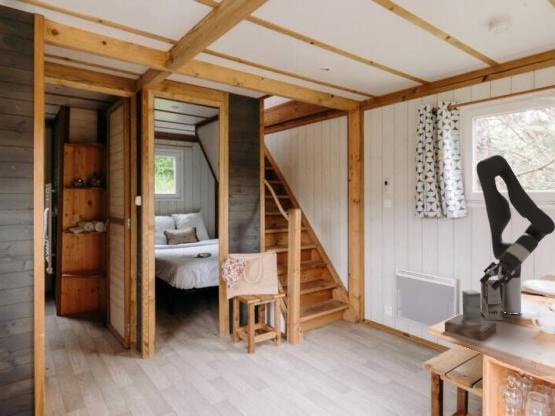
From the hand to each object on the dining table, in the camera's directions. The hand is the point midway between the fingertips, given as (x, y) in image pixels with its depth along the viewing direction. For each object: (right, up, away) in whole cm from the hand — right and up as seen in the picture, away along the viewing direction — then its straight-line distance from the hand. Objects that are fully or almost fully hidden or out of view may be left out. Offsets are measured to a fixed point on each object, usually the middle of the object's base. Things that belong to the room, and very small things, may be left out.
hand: (486, 285), depth 153 cm
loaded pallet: (-6, -15, 0) cm, 17 cm away
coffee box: (+11, -18, +16) cm, 26 cm away
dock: (-6, -19, +1) cm, 21 cm away
